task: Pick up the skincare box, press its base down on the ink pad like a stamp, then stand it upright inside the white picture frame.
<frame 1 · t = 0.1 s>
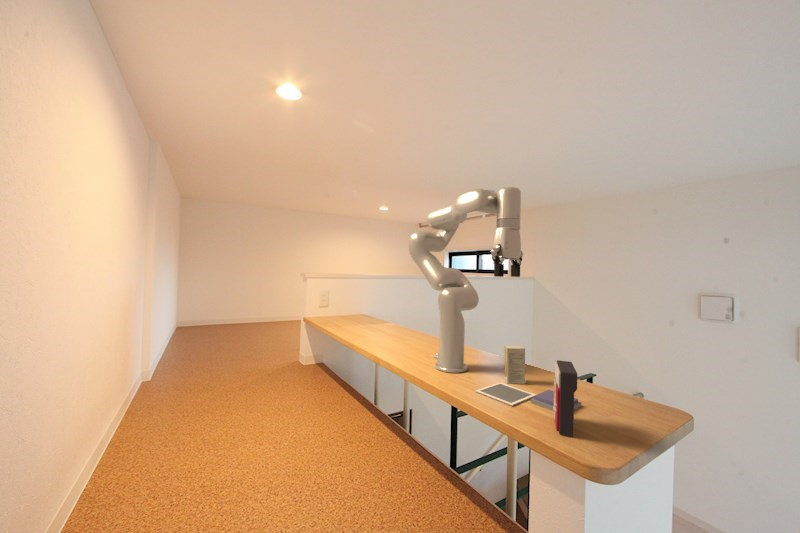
hand: (507, 276, 108), 37 cm above the counter, tool pointing down, fingers open, 9 cm apart
skincare box: (514, 382, 113), on the counter
white picture frame: (505, 394, 101), on the counter
ink pad: (555, 404, 94), on the counter
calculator: (563, 426, 81), on the counter
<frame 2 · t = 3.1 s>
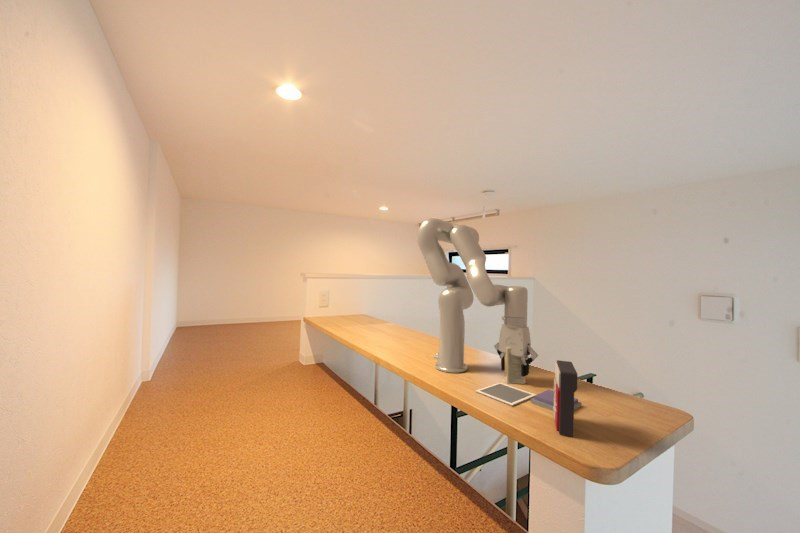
hand: (514, 372, 113), 3 cm above the counter, tool pointing down, fingers closed on skincare box, 7 cm apart
skincare box: (514, 382, 113), on the counter, touching gripper
everything else where it was.
when the fingers open (5 cm above the counter, at t = 14.0 s): skincare box drops 2 cm, resting on white picture frame.
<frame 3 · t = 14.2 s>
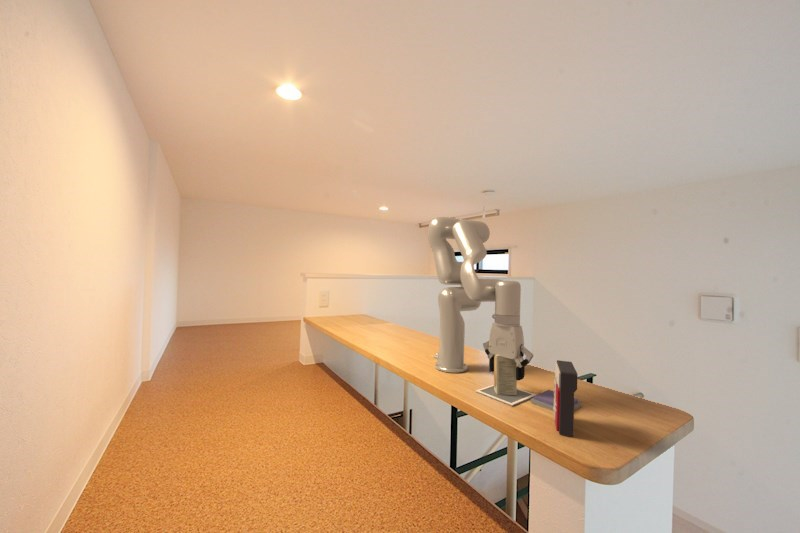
hand: (506, 375, 101), 6 cm above the counter, tool pointing down, fingers open, 9 cm apart
skincare box: (504, 393, 101), resting on white picture frame
everything else where it was.
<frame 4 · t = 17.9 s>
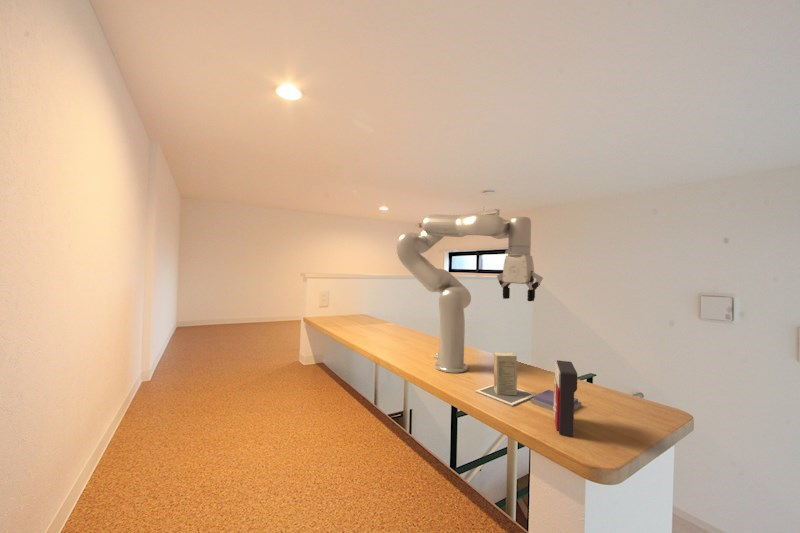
hand: (518, 299, 116), 28 cm above the counter, tool pointing down, fingers open, 9 cm apart
nothing on the counter moved.
at the end: skincare box inside the target area on the white picture frame (0.4 cm from its centre), point 0.1 cm above the white picture frame's base; skincare box tilted 0°; the gripper is holding nothing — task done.
